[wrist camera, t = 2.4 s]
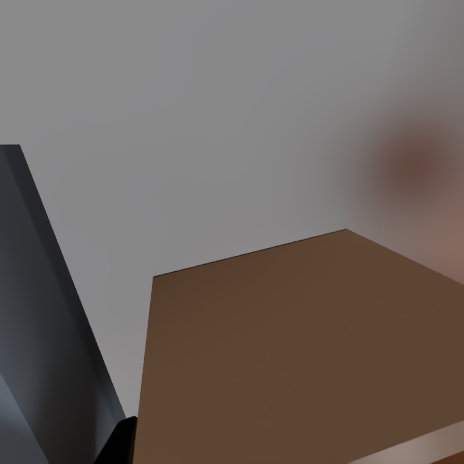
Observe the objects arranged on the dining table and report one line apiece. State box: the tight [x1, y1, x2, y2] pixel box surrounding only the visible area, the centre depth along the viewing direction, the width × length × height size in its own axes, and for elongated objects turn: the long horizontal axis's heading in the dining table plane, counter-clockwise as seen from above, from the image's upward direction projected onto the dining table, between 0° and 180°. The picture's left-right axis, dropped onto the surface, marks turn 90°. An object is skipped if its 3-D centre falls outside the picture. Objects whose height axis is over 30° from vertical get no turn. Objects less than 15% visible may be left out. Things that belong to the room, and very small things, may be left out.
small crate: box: [133, 229, 464, 464], centre depth 7 cm, size 6×6×6 cm
